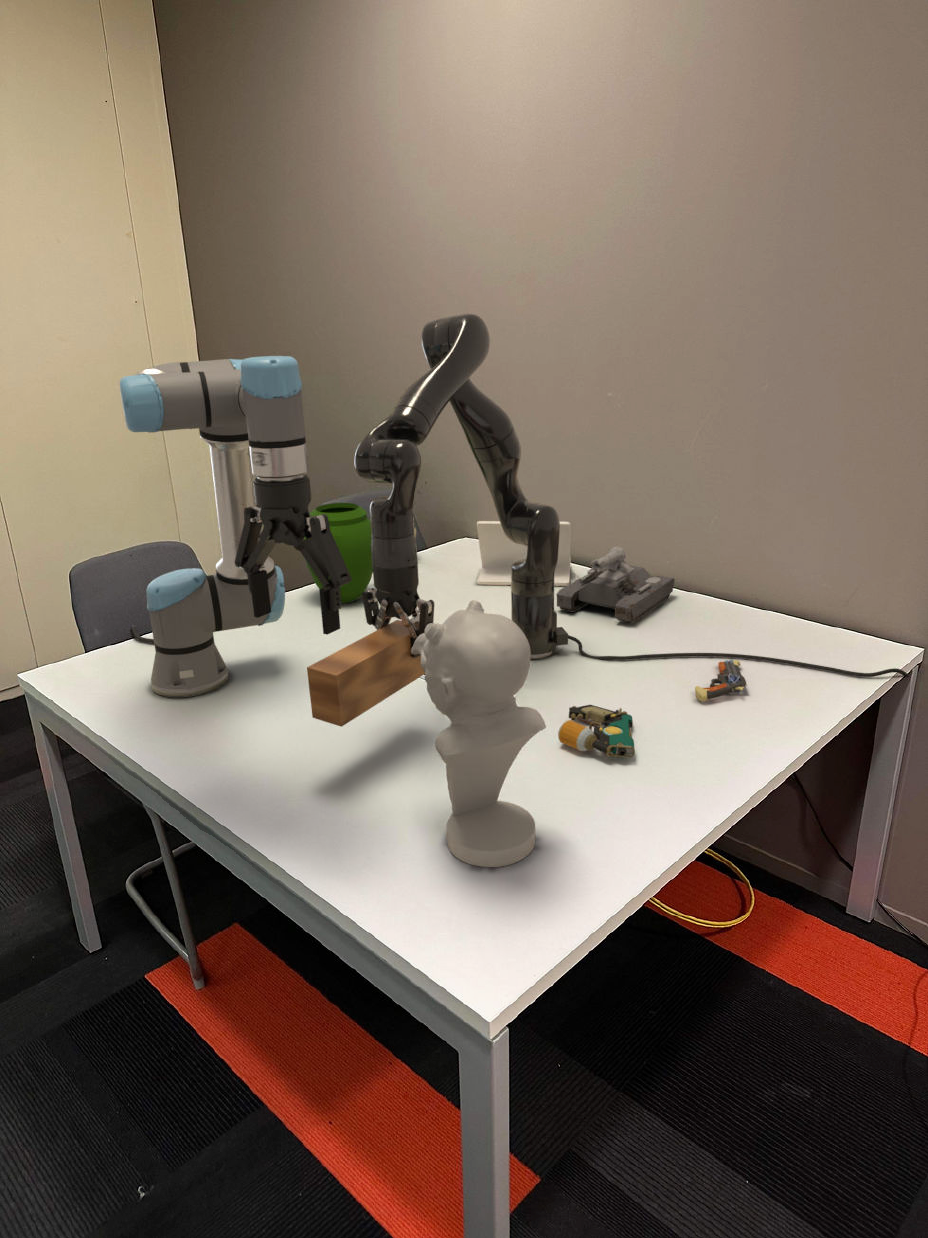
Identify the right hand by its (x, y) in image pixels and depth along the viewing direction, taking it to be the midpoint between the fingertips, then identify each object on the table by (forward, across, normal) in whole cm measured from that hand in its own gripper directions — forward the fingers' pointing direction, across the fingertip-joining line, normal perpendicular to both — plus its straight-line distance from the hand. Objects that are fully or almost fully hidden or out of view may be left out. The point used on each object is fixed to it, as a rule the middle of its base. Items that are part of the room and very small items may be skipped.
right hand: (401, 651), depth 148 cm
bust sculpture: (+16, +26, -19) cm, 36 cm away
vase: (+17, -59, +51) cm, 80 cm away
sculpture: (+17, -66, +88) cm, 111 cm away
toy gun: (+17, +41, +48) cm, 66 cm away
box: (+5, 0, -8) cm, 9 cm away
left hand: (-14, +1, -25) cm, 29 cm away
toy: (+17, +4, +81) cm, 83 cm away
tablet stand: (+18, -28, +92) cm, 97 cm away
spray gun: (+17, +30, +17) cm, 38 cm away
